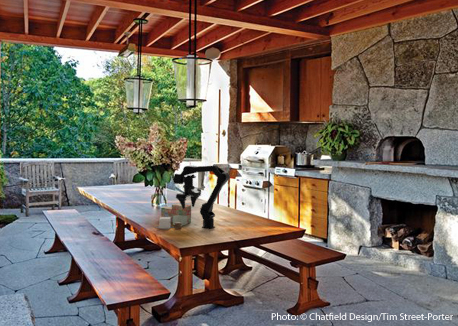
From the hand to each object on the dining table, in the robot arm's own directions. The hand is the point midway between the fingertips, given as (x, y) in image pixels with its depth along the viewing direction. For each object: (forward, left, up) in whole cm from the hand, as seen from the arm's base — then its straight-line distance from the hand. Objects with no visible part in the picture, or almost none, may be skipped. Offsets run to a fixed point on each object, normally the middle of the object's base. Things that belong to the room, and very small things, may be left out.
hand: (188, 207), depth 278 cm
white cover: (+7, +15, -12) cm, 20 cm away
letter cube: (-1, +11, -12) cm, 16 cm away
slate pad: (+7, +15, -12) cm, 20 cm away
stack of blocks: (+15, -4, -12) cm, 20 cm away
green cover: (+6, +2, -12) cm, 13 cm away
